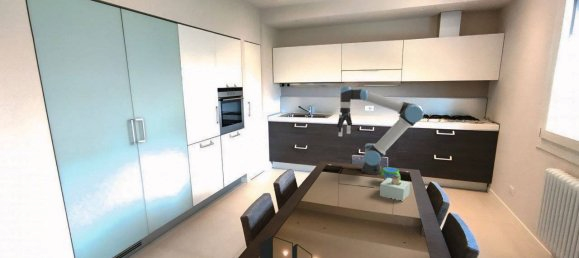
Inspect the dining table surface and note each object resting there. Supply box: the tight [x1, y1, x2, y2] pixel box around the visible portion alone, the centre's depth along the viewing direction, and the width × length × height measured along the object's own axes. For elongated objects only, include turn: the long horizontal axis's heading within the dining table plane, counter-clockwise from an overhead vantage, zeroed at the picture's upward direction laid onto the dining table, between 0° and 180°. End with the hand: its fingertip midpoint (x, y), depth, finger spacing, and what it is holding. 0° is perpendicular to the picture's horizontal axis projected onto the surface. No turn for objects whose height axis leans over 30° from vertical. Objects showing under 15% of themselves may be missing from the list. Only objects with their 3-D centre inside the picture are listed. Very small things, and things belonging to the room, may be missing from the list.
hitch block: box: [379, 178, 411, 202], centre depth 164 cm, size 14×14×8 cm
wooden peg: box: [392, 175, 401, 186], centre depth 164 cm, size 4×4×12 cm
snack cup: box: [380, 166, 402, 181], centre depth 184 cm, size 16×10×10 cm
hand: (344, 135), depth 198 cm, fingers open, 13 cm apart
